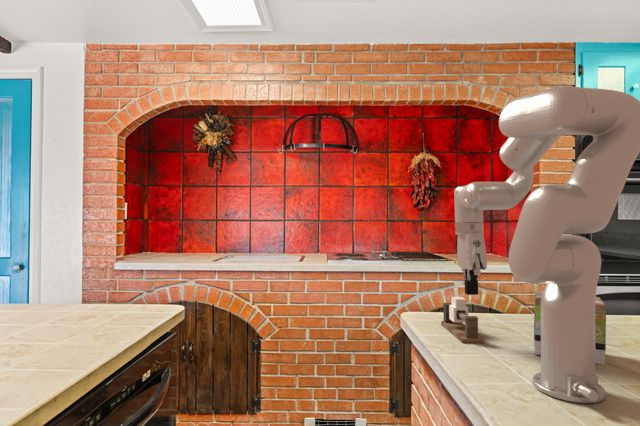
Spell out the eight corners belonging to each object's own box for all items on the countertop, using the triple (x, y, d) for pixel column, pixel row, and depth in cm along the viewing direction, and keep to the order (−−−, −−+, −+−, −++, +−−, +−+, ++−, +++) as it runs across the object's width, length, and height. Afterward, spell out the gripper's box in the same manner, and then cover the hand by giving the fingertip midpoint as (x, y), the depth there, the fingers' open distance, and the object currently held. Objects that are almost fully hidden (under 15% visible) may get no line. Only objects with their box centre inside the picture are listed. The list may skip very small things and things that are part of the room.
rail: (483, 342, 111) (483, 316, 111) (462, 342, 111) (462, 316, 111) (459, 324, 129) (459, 301, 129) (441, 324, 129) (441, 302, 129)
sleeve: (468, 322, 119) (468, 299, 119) (453, 322, 119) (453, 299, 119) (463, 318, 123) (463, 296, 123) (449, 318, 123) (449, 296, 123)
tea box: (534, 355, 101) (534, 297, 101) (533, 344, 109) (533, 290, 109) (606, 366, 94) (606, 303, 94) (600, 352, 102) (599, 295, 102)
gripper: (494, 228, 106) (497, 298, 105) (471, 229, 120) (474, 290, 120) (466, 229, 105) (468, 299, 104) (447, 229, 120) (449, 290, 119)
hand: (471, 294), depth 112 cm, fingers closed
